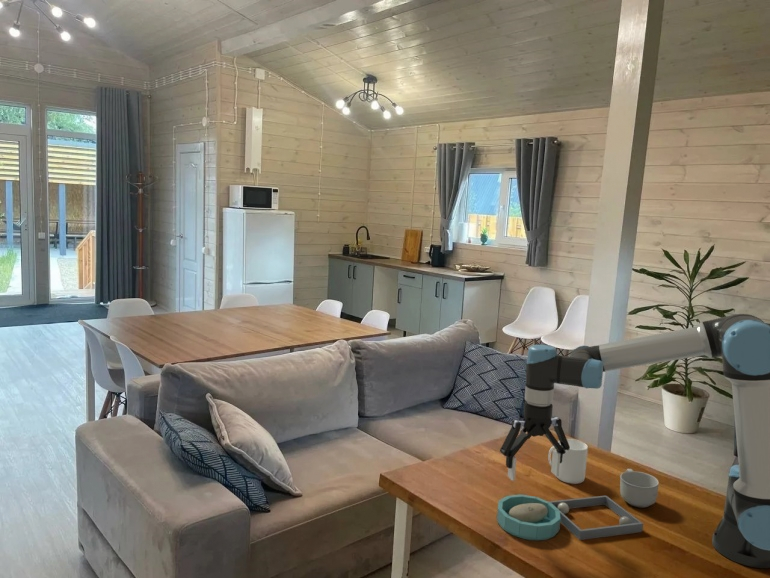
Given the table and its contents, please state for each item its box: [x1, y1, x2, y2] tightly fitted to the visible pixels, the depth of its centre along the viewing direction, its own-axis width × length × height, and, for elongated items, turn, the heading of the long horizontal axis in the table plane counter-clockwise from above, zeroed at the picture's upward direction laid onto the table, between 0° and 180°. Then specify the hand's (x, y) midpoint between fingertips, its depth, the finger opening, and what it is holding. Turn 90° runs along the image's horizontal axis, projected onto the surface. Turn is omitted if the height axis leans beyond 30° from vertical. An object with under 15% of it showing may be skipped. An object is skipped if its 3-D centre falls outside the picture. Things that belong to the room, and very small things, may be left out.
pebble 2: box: [618, 516, 631, 525], centre depth 165 cm, size 3×3×3 cm
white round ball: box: [558, 503, 570, 515], centre depth 171 cm, size 3×3×3 cm
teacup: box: [619, 468, 660, 509], centre depth 181 cm, size 14×11×8 cm
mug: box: [547, 438, 589, 485], centre depth 194 cm, size 10×12×12 cm
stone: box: [509, 503, 548, 523], centre depth 164 cm, size 6×6×12 cm
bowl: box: [496, 494, 561, 541], centre depth 164 cm, size 17×17×4 cm
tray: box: [548, 495, 644, 541], centre depth 168 cm, size 16×20×2 cm
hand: (533, 476), depth 162 cm, fingers open, 13 cm apart
